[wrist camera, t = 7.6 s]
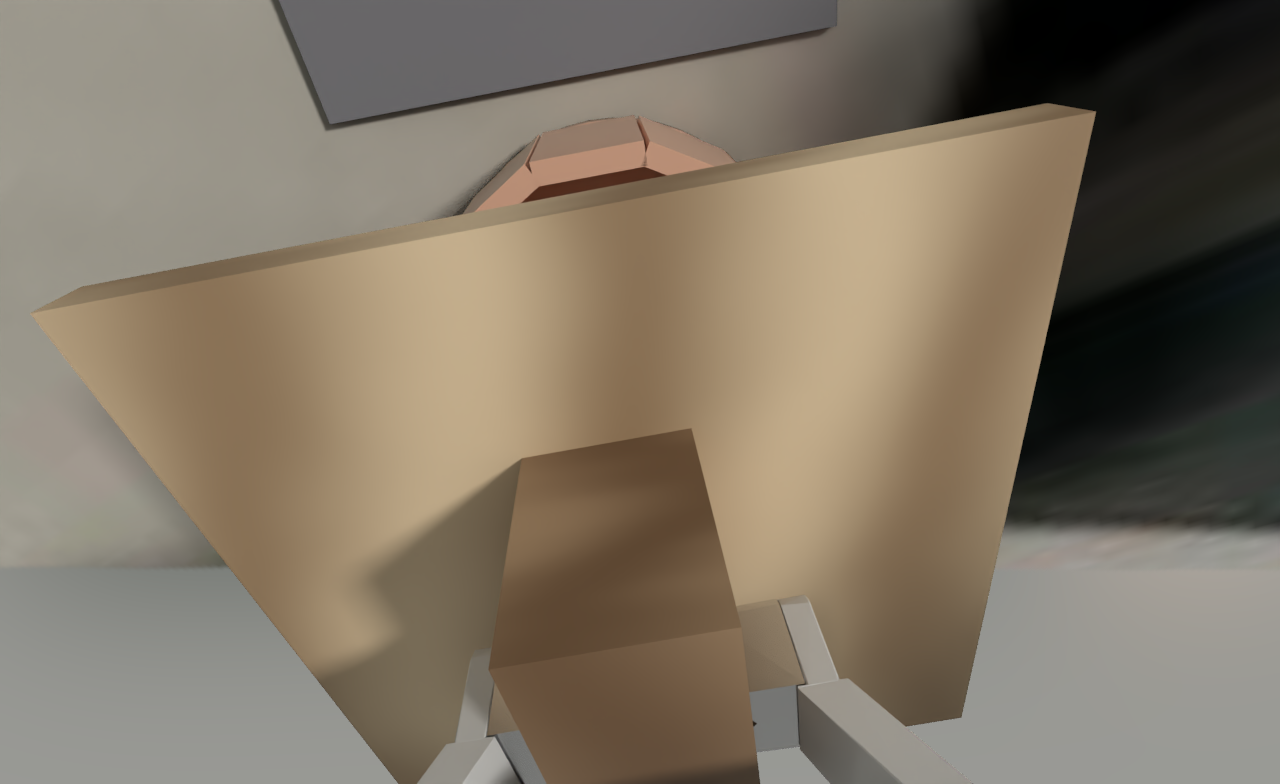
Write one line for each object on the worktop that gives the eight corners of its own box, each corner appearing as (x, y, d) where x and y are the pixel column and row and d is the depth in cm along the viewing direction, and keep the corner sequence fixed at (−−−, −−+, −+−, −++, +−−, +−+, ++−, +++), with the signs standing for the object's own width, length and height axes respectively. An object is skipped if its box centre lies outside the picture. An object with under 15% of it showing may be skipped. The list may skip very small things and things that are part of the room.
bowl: (763, 86, 22) (815, 107, 17) (778, 385, 29) (817, 464, 24) (416, 153, 22) (363, 193, 17) (513, 431, 29) (496, 518, 24)
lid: (1047, 103, 9) (1467, 176, 5) (942, 682, 17) (1061, 904, 13) (81, 286, 9) (-349, 509, 5) (424, 767, 17) (370, 1011, 13)
